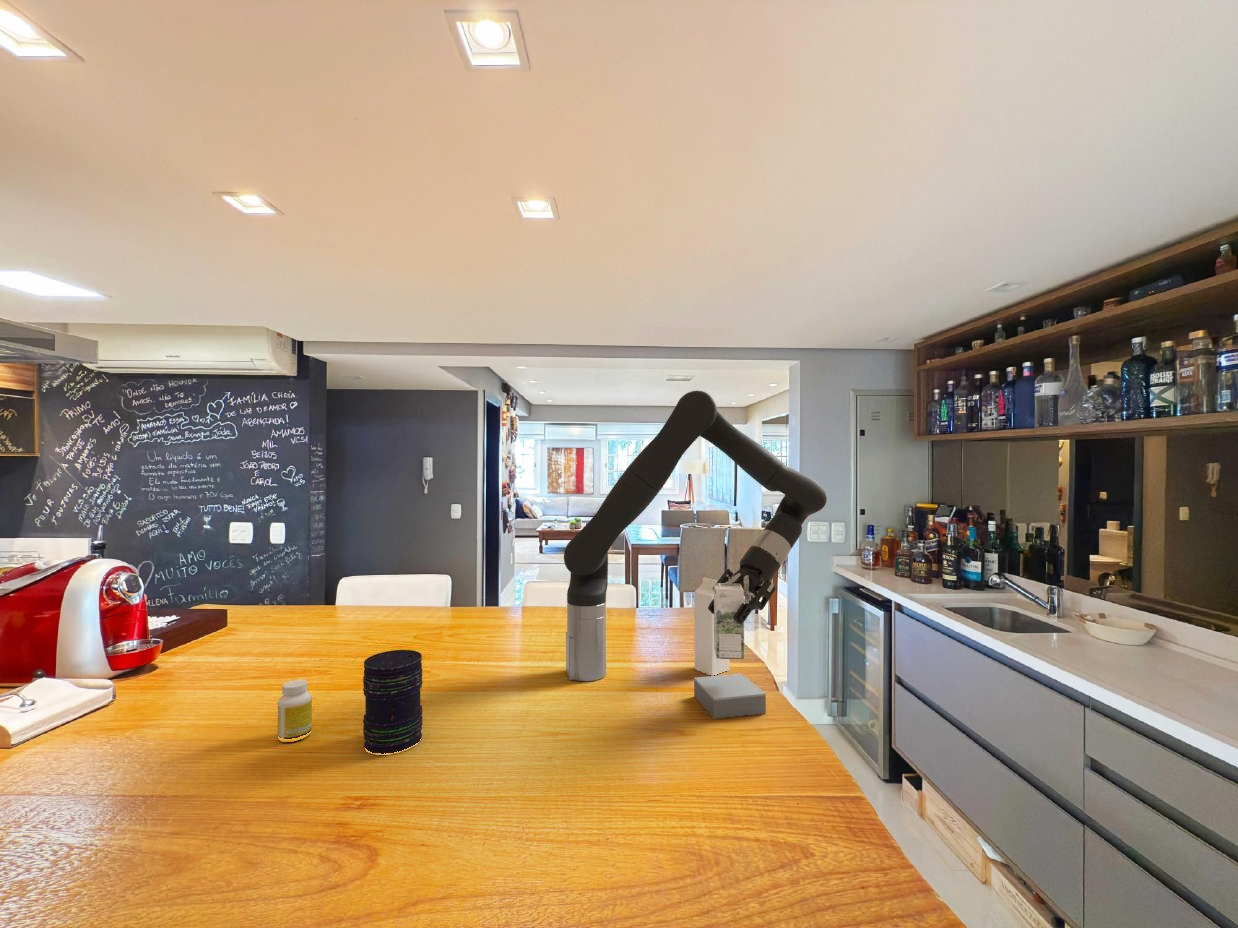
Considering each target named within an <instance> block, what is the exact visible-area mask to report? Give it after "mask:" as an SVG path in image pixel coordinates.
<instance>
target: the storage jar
mask: <svg viewBox="0 0 1238 928" xmlns="http://www.w3.org/2000/svg"><path fill="white" fill-rule="evenodd" d="M422 657H423V655H422V653H421V652H420V651H416V650H412V649H394V650H387V651H382V652H380V653H376V654H373V655H370V656H369V657H367V658H366V659H365V660H364V661H363V669H364V670H363V678H362V683H363V689H362V691H363V695H364V697H365V702H364V703H365V713H364V715H363V720H362V723H363V728H362V729H363V733H362V734H363V740H364V742H363V748H364V747H365V748H366V749H367V750H368V751H370V752H372V753H381V754H384V753H385V754H386V753H394V752H397V751H398V752H399V751H402V750H404V749H407V748H409V747H411V746H413V745H415V744H416V743H418V742H419V741H420V739H421V738H422V739H423V734H422V729H423V723H424V722H423V712H424V711H423V706H422V705H421V688H422V687H423V667H422V664H423V663H422V660H423V659H422ZM422 739H421V740H422ZM420 742H421V741H420Z"/></svg>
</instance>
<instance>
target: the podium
mask: <svg viewBox="0 0 1238 928" xmlns="http://www.w3.org/2000/svg"><path fill="white" fill-rule="evenodd" d="M693 680H694V681H693V687H694V689H693V690H694V691H693V692H694V694H693V695H694V698H695V699H696V700H697V702H699V704H701V706H702V707H703V708H704V710H705V711H706V710H707V711H706V712H707V713H708V714H709V716H710V717H711V718H712V717H713V718H714V719H713V718H712V719H713V720H718V719H717V718H721V719H725V718H724V717H730V718H736V717H735V716H739V717H744V716H743V715H748V716H755V715H756V714H758V715H766V714H767V713H766V712H767V709H766V708H767V705H766V703H767V702H766V699H767V697H766V692H765V691H763V690H762V689H761V688H760V687H759V686H758V685H756V684H755V683H754V682H753V681H751V680H750V679H749V678H748V677H746V675H744V674H743V673H733V674H718V675H715V676H710V675H707V676H699V677H698V676H697V677H694V678H693Z"/></svg>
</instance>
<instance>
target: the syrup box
mask: <svg viewBox="0 0 1238 928" xmlns="http://www.w3.org/2000/svg"><path fill="white" fill-rule="evenodd" d="M744 600H745V596H744V590H743V588H742V586H741V584H729V583H714V650H715V654H716V658H717V659H729V660H744V659H745V621H744V622H743V623H742V624H741V625H740V624H738V623H737V622H736V621H735V620H734V619H733V616H734V615H735V613H736V612H737V611H738V609H739V608H740V606H741V605H742V603H743V604H745V602H744Z"/></svg>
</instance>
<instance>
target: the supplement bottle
mask: <svg viewBox="0 0 1238 928" xmlns="http://www.w3.org/2000/svg"><path fill="white" fill-rule="evenodd" d="M281 690H282V692H281V693H282V694H283V695H281V697H279V698H278V701H277V737H278V736H279V737H280V738H283V739H292V738H298V737H300V736H303V735H306V734H307V733H309V732H310V731H311V730H312V729H313V726H312V725H313V724H312V723H313V722H312V721H313V719H312V716H313V715H312V713H313V710H312V708H313V707H312V704H313V703H312V702H313V699H312V698H313V697H312V693H311V692H310V691H307V690H308V680H306V679H294V680H290V681H286V682H285V683H283V684H282V689H281Z"/></svg>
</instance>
